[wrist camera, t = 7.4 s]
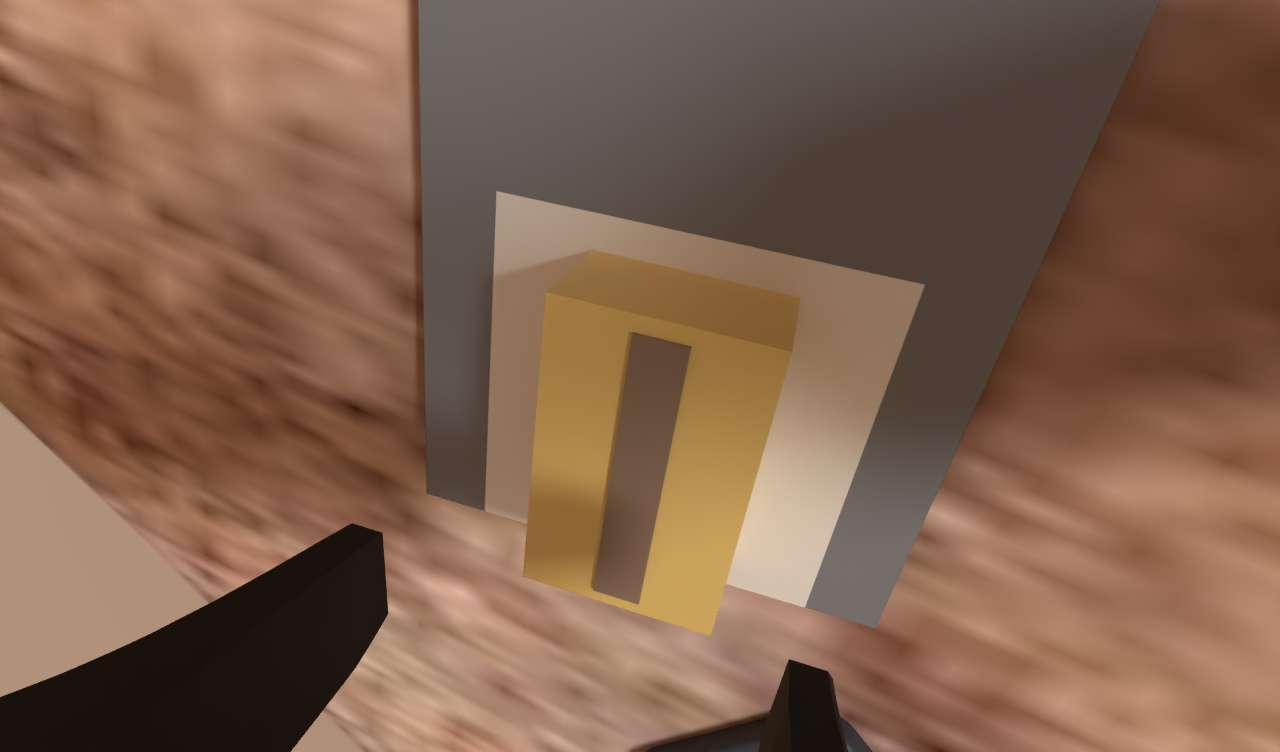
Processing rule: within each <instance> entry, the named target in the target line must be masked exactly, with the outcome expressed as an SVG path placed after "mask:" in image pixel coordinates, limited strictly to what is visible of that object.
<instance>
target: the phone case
mask: <svg viewBox="0 0 1280 752" xmlns="http://www.w3.org/2000/svg"><path fill="white" fill-rule="evenodd" d="M767 719H768V718H764V719H761V720H757V721H753V722H749V723H745V724H741V725H738V726H734V727H730V728H726V729H722V730H718V731H715V732H711V733H707V734H703V735H699V736H695V737H692V738H688V739H684V740H680V741H676V742H672V743H669V744H665V745H661V746H657V747H654V748H651V749H650V750H648V751H647V752H758V751H759V745H760V738H761V735H762V732H763V730H764V727H765V724H766V721H767ZM840 720H841V724H842V728H843V733H844V737H845V741H846V745H847V748H848V752H872V750H871V749H870V748H869V747H868V745H867V744H866V743H865V742H864V740H863V739H862V738H861V737H860V735H859V734H858V733H857V732H856V730H855V729H854V728H853V727H852V726H851V725H850V724H849V723H848V722H847V721H845V720H844V719H843V718H841V717H840Z"/></svg>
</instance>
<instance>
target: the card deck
mask: <svg viewBox="0 0 1280 752" xmlns="http://www.w3.org/2000/svg"><path fill="white" fill-rule="evenodd" d="M800 298H801V297H797V296H792V295H788V294H784V293H779V292H775V291H770V290H766V289H762V288H757V287H753V286H749V285H744V284H740V283H736V282H731V281H727V280H723V279H718V278H714V277H710V276H705V275H701V274H697V273H692V272H688V271H684V270H679V269H675V268H671V267H666V266H662V265H658V264H653V263H649V262H645V261H640V260H636V259H632V258H627V257H623V256H619V255H614V254H610V253H606V252H601V251H597V250H592V251H591V252H590V253H589V254H588V255H586V256H585V257H584V258H583V259H582V260H581V261H580V262H579V263H578V264H576V265H575V266H574V267H573V268H572V269H571V270H570V271H569V272H568V273H566V274H565V275H564V276H563V277H562V278H561V279H560V280H559V281H558V282H556V283H555V284H554V285H553V286H552V287H551V288H550V289H549V290H548V291H546V298H545V310H544V323H543V335H542V347H541V360H540V372H539V384H538V397H537V409H536V421H535V434H534V446H533V459H532V471H531V483H530V496H529V508H528V520H527V533H526V545H525V557H524V570H523V577H525V578H529V579H532V580H535V581H538V582H541V583H544V584H548V585H551V586H554V587H557V588H560V589H563V590H567V591H570V592H573V593H576V594H579V595H582V596H586V597H589V598H592V599H595V600H598V601H601V602H604V603H608V604H611V605H614V606H617V607H620V608H623V609H627V610H630V611H633V612H636V613H639V614H642V615H646V616H649V617H652V618H655V619H658V620H661V621H664V622H668V623H671V624H674V625H677V626H680V627H683V628H687V629H690V630H693V631H696V632H699V633H702V634H706V635H709V636H711V634H712V630H713V627H714V623H715V620H716V616H717V613H718V609H719V606H720V602H721V599H722V595H723V592H724V588H725V585H726V581H727V578H728V574H729V571H730V567H731V564H732V560H733V557H734V553H735V550H736V546H737V543H738V539H739V536H740V532H741V529H742V525H743V522H744V518H745V515H746V511H747V508H748V505H749V501H750V498H751V494H752V491H753V487H754V484H755V480H756V477H757V473H758V470H759V466H760V463H761V459H762V456H763V452H764V449H765V445H766V442H767V438H768V435H769V431H770V428H771V424H772V421H773V417H774V414H775V410H776V407H777V403H778V400H779V396H780V393H781V389H782V386H783V383H784V379H785V376H786V372H787V369H788V365H789V362H790V358H791V355H792V350H793V344H794V337H795V331H796V324H797V318H798V311H799V305H800Z"/></svg>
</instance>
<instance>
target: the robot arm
mask: <svg viewBox="0 0 1280 752" xmlns="http://www.w3.org/2000/svg"><path fill="white" fill-rule="evenodd" d="M387 615H388V604H387V590H386V576H385V562H384V549H383V535H382V533H381V532H378V531H375V530H372V529H368V528H365V527H362V526H359V525H355V524H350V525H348V526H346V527H344V528H343V529H341V530H339V531H337V532H335V533H334V534H332V535H330V536H328V537H327V538H325V539H323V540H321V541H320V542H318V543H316V544H314V545H313V546H311V547H309V548H308V549H306V550H304V551H302V552H301V553H299V554H297V555H295V556H294V557H292V558H290V559H288V560H287V561H285V562H283V563H282V564H280V565H278V566H276V567H275V568H273V569H271V570H269V571H268V572H266V573H264V574H262V575H260V576H259V577H257V578H255V579H253V580H251V581H250V582H248V583H246V584H244V585H242V586H241V587H239V588H237V589H235V590H233V591H232V592H230V593H228V594H226V595H224V596H223V597H221V598H219V599H217V600H215V601H213V602H211V603H209V604H208V605H206V606H204V607H202V608H200V609H198V610H196V611H194V612H192V613H190V614H188V615H186V616H184V617H182V618H180V619H178V620H176V621H175V622H173V623H171V624H169V625H167V626H165V627H163V628H161V629H159V630H157V631H155V632H153V633H151V634H149V635H147V636H145V637H143V638H140V639H138V640H136V641H134V642H132V643H130V644H128V645H125V646H124V647H121V648H119V649H117V650H115V651H112V652H110V653H108V654H106V655H103V656H101V657H99V658H96V659H94V660H92V661H90V662H87V663H85V664H83V665H80V666H78V667H76V668H74V669H71V670H69V671H66V672H64V673H62V674H59V675H57V676H54V677H52V678H50V679H47V680H44V681H41V682H39V683H36V684H34V685H31V686H28V687H26V688H23V689H21V690H18V691H15V692H13V693H10V694H7V695H5V696H2V697H0V752H291V751H292V749H293V748H294V747H295V745H296V744H297V743H298V741H299V740H300V739H301V738H302V736H303V735H304V734H305V732H306V731H307V730H308V729H309V727H310V726H311V725H312V724H313V722H314V721H315V720H316V719H317V717H318V716H319V715H320V713H321V712H322V711H323V710H324V708H325V707H326V706H327V704H328V703H329V702H330V700H331V699H332V698H333V697H334V695H335V694H336V693H337V691H338V690H339V689H340V687H341V686H342V685H343V684H344V682H345V681H346V680H347V678H348V677H349V676H350V674H351V673H352V672H353V670H354V669H355V668H356V666H357V665H358V663H359V661H360V660H361V658H362V657H363V655H364V653H365V652H366V650H367V649H368V647H369V645H370V644H371V642H372V640H373V639H374V637H375V635H376V634H377V632H378V630H379V629H380V627H381V625H382V623H383V622H384V620H385V618H386V617H387ZM758 752H848V748H847V745H846V741H845V737H844V733H843V728H842V724H841V720H840V715H839V711H838V706H837V701H836V696H835V690H834V684H833V678H832V677H831V675H830V674H829V673H828V671H825V670H822V669H819V668H815V667H812V666H809V665H806V664H802V663H799V662H796V661H793V660H790V659H789V661H788V663H787V666H786V669H785V672H784V675H783V677H782V680H781V683H780V686H779V688H778V691H777V694H776V697H775V699H774V702H773V705H772V708H771V710H770V713H769V716H768V719H767V721H766V724H765V727H764V730H763V732H762V735H761V738H760V745H759V751H758Z"/></svg>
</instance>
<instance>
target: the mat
mask: <svg viewBox="0 0 1280 752" xmlns="http://www.w3.org/2000/svg"><path fill="white" fill-rule="evenodd" d="M1160 1H1161V0H418V24H419V81H420V137H421V194H422V251H423V308H424V365H425V422H426V479H427V494H431V495H434V496H437V497H441V498H444V499H447V500H451V501H454V502H457V503H460V504H464V505H467V506H470V507H474V508H477V509H480V510H484V511H485V512H489V513H492V514H495V515H499V516H502V517H505V518H509V519H512V520H515V521H519V522H522V523H525V524H527V520H528V508H529V496H530V483H531V471H532V459H533V446H534V434H535V421H536V409H537V397H538V384H539V372H540V360H541V347H542V335H543V323H544V310H545V298H546V291H548V290H549V289H550V288H551V287H552V286H553V285H554V284H555V283H556V282H558V281H559V280H560V279H561V278H562V277H563V276H564V275H565V274H566V273H568V272H569V271H570V270H571V269H572V268H573V267H574V266H575V265H576V264H578V263H579V262H580V261H581V260H582V259H583V258H584V257H585V256H586V255H588V254H589V253H590V252H591V251H592V250H597V251H601V252H606V253H610V254H614V255H619V256H623V257H627V258H632V259H636V260H640V261H645V262H649V263H653V264H658V265H662V266H666V267H671V268H675V269H679V270H684V271H688V272H692V273H697V274H701V275H705V276H710V277H714V278H718V279H723V280H727V281H731V282H736V283H740V284H744V285H749V286H753V287H757V288H762V289H766V290H770V291H775V292H779V293H784V294H788V295H792V296H797V297H801V298H800V305H799V311H798V318H797V324H796V331H795V337H794V344H793V350H792V355H791V358H790V362H789V365H788V369H787V372H786V376H785V379H784V383H783V386H782V389H781V393H780V396H779V400H778V403H777V407H776V410H775V414H774V417H773V421H772V424H771V428H770V431H769V435H768V438H767V442H766V445H765V449H764V452H763V456H762V459H761V463H760V466H759V470H758V473H757V477H756V480H755V484H754V487H753V491H752V494H751V498H750V501H749V505H748V508H747V511H746V515H745V518H744V522H743V525H742V529H741V532H740V536H739V539H738V543H737V546H736V550H735V553H734V557H733V560H732V564H731V567H730V571H729V574H728V578H727V581H726V584H728V585H731V586H735V587H738V588H741V589H745V590H748V591H751V592H755V593H758V594H761V595H765V596H768V597H771V598H775V599H778V600H781V601H785V602H788V603H791V604H795V605H798V606H801V607H806V608H810V609H813V610H816V611H820V612H823V613H826V614H830V615H833V616H836V617H839V618H843V619H846V620H849V621H853V622H856V623H859V624H863V625H866V626H869V627H873V628H876V626H877V623H878V621H879V619H880V617H881V615H882V612H883V610H884V608H885V606H886V604H887V601H888V599H889V597H890V595H891V593H892V590H893V588H894V586H895V584H896V582H897V579H898V577H899V575H900V573H901V571H902V568H903V566H904V564H905V562H906V560H907V557H908V555H909V553H910V551H911V549H912V546H913V544H914V542H915V540H916V538H917V535H918V533H919V531H920V529H921V527H922V524H923V522H924V520H925V518H926V516H927V513H928V511H929V509H930V507H931V505H932V502H933V500H934V498H935V496H936V494H937V491H938V489H939V487H940V485H941V483H942V480H943V478H944V476H945V474H946V472H947V469H948V467H949V465H950V463H951V461H952V458H953V456H954V454H955V452H956V450H957V447H958V445H959V443H960V441H961V439H962V436H963V434H964V432H965V430H966V428H967V425H968V423H969V421H970V419H971V417H972V414H973V412H974V410H975V408H976V406H977V403H978V401H979V399H980V397H981V395H982V392H983V390H984V388H985V386H986V384H987V381H988V379H989V377H990V375H991V373H992V370H993V368H994V366H995V364H996V362H997V359H998V357H999V355H1000V353H1001V351H1002V348H1003V346H1004V344H1005V342H1006V340H1007V337H1008V335H1009V333H1010V331H1011V329H1012V326H1013V324H1014V322H1015V320H1016V318H1017V315H1018V313H1019V311H1020V309H1021V307H1022V304H1023V302H1024V300H1025V298H1026V296H1027V293H1028V291H1029V289H1030V287H1031V285H1032V282H1033V280H1034V278H1035V276H1036V274H1037V271H1038V269H1039V267H1040V265H1041V263H1042V260H1043V258H1044V256H1045V254H1046V252H1047V249H1048V247H1049V245H1050V243H1051V241H1052V238H1053V236H1054V234H1055V232H1056V230H1057V227H1058V225H1059V223H1060V221H1061V219H1062V216H1063V214H1064V212H1065V210H1066V208H1067V205H1068V203H1069V201H1070V199H1071V197H1072V194H1073V192H1074V190H1075V188H1076V186H1077V183H1078V181H1079V179H1080V177H1081V175H1082V172H1083V170H1084V168H1085V166H1086V164H1087V161H1088V159H1089V157H1090V155H1091V153H1092V150H1093V148H1094V146H1095V144H1096V142H1097V139H1098V137H1099V135H1100V133H1101V131H1102V128H1103V126H1104V124H1105V122H1106V120H1107V117H1108V115H1109V113H1110V111H1111V109H1112V106H1113V104H1114V102H1115V100H1116V98H1117V95H1118V93H1119V91H1120V89H1121V87H1122V84H1123V82H1124V80H1125V78H1126V76H1127V73H1128V71H1129V69H1130V67H1131V65H1132V62H1133V60H1134V58H1135V56H1136V54H1137V51H1138V49H1139V47H1140V45H1141V43H1142V40H1143V38H1144V36H1145V34H1146V32H1147V29H1148V27H1149V25H1150V23H1151V21H1152V18H1153V16H1154V14H1155V12H1156V10H1157V7H1158V5H1159V3H1160Z"/></svg>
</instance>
